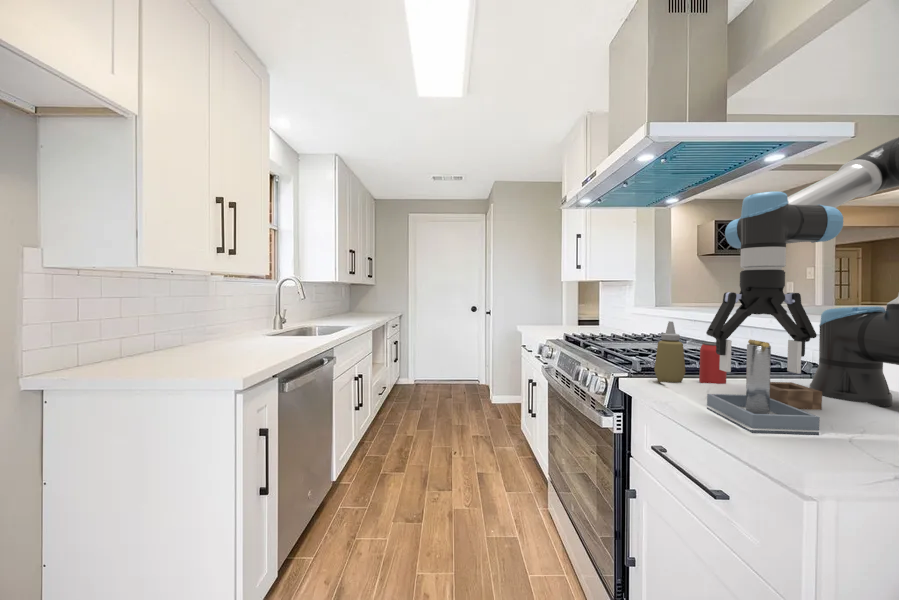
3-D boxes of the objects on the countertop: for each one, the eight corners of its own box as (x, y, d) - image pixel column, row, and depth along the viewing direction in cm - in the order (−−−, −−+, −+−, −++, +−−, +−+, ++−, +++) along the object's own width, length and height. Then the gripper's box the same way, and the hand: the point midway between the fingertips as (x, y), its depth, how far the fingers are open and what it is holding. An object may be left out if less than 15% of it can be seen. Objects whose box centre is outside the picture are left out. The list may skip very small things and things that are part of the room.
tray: (762, 410, 95) (762, 395, 95) (818, 435, 79) (819, 416, 79) (706, 408, 96) (707, 393, 95) (752, 433, 80) (752, 414, 80)
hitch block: (791, 402, 101) (791, 382, 101) (821, 414, 92) (822, 391, 92) (752, 401, 102) (752, 381, 102) (778, 412, 93) (779, 390, 93)
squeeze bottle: (666, 379, 127) (668, 320, 126) (691, 385, 119) (693, 322, 119) (647, 381, 123) (649, 320, 123) (672, 387, 116) (673, 323, 115)
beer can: (730, 387, 116) (731, 345, 116) (704, 386, 118) (705, 344, 117) (720, 382, 123) (721, 341, 123) (695, 381, 124) (696, 341, 124)
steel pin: (758, 412, 90) (759, 339, 90) (775, 420, 85) (777, 342, 84) (738, 412, 90) (739, 339, 90) (755, 420, 85) (756, 342, 84)
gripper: (811, 270, 89) (808, 369, 90) (690, 269, 91) (687, 366, 92) (842, 268, 82) (838, 376, 82) (708, 268, 83) (706, 373, 84)
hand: (759, 371), depth 87 cm, fingers open, 13 cm apart
